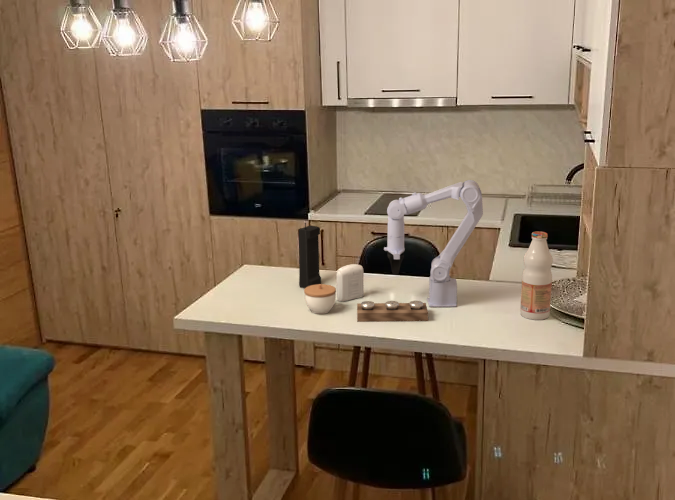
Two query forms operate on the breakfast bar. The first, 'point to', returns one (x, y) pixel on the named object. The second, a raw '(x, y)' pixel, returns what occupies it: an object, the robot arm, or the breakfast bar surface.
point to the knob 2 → (416, 305)
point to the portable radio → (309, 256)
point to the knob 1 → (367, 305)
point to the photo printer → (350, 282)
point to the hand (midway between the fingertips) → (395, 273)
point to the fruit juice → (537, 279)
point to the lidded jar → (320, 298)
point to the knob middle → (391, 305)
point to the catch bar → (391, 313)
